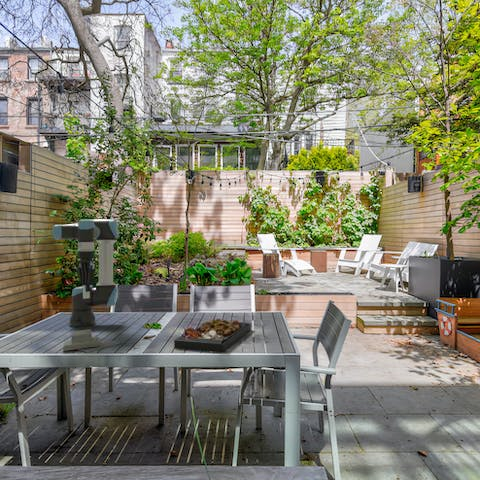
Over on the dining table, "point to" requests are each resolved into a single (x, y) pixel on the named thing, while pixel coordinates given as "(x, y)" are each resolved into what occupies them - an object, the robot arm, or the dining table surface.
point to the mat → (100, 346)
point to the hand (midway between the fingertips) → (86, 298)
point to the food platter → (212, 336)
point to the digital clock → (81, 340)
